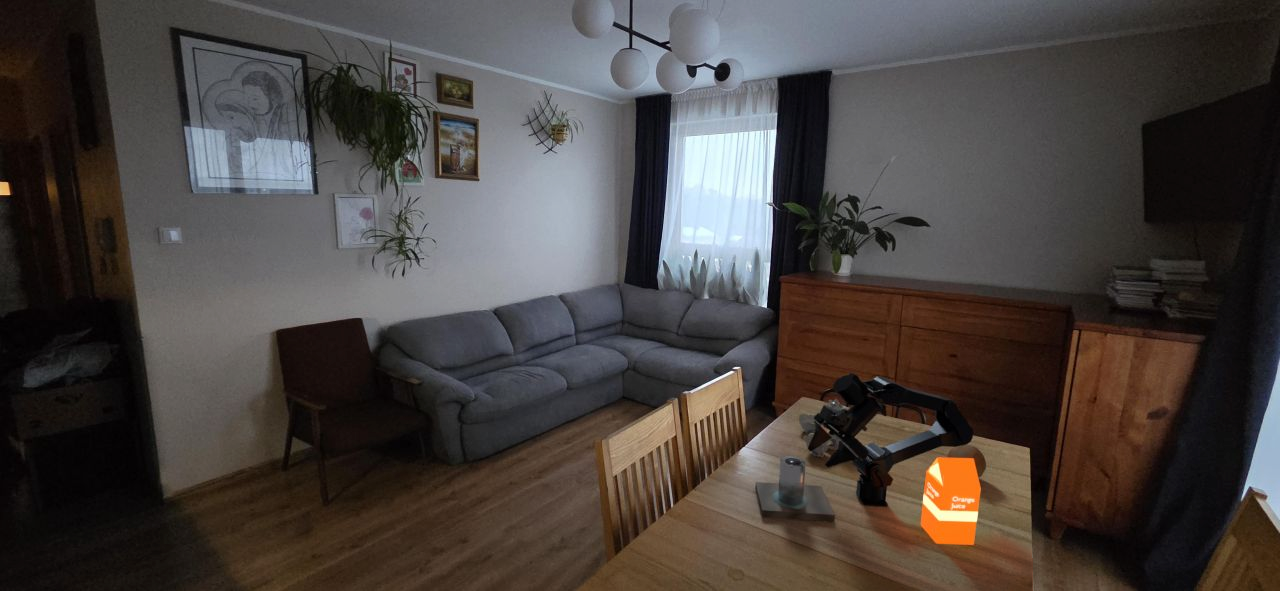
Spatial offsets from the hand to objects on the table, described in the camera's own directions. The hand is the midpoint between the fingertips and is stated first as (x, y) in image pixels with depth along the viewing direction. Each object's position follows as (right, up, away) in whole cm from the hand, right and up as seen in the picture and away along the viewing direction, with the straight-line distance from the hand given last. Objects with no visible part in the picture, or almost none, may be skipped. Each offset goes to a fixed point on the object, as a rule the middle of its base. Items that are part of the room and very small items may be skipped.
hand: (817, 457), depth 136 cm
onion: (+50, -11, +18) cm, 54 cm away
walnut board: (-6, -13, +2) cm, 15 cm away
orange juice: (+28, -16, -10) cm, 34 cm away
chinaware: (+16, -8, +39) cm, 43 cm away
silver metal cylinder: (-7, -11, +1) cm, 13 cm away
